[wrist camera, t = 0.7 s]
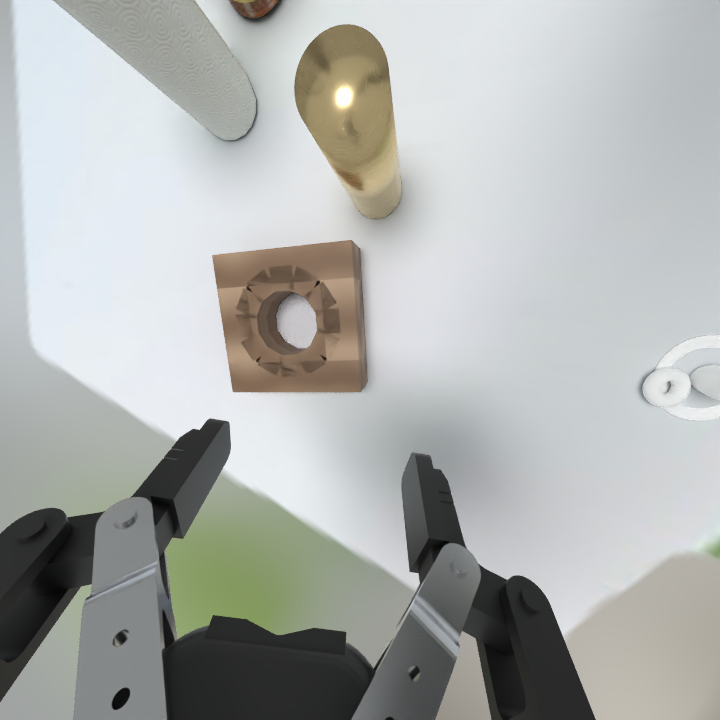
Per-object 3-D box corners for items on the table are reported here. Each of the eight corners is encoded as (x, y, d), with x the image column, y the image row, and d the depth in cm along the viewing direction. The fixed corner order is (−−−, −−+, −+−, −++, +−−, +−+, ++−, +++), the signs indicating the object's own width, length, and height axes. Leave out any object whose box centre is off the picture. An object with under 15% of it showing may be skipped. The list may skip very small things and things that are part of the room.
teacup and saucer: (622, 401, 27) (658, 417, 23) (664, 321, 25) (710, 325, 21) (723, 429, 26) (778, 451, 22) (774, 348, 24) (844, 357, 20)
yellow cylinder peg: (351, 168, 27) (289, 38, 14) (401, 160, 26) (386, 12, 13) (354, 221, 28) (299, 147, 15) (402, 215, 27) (391, 130, 14)
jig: (237, 261, 31) (212, 255, 27) (359, 248, 29) (351, 240, 25) (253, 382, 34) (232, 392, 30) (367, 381, 31) (360, 392, 27)
